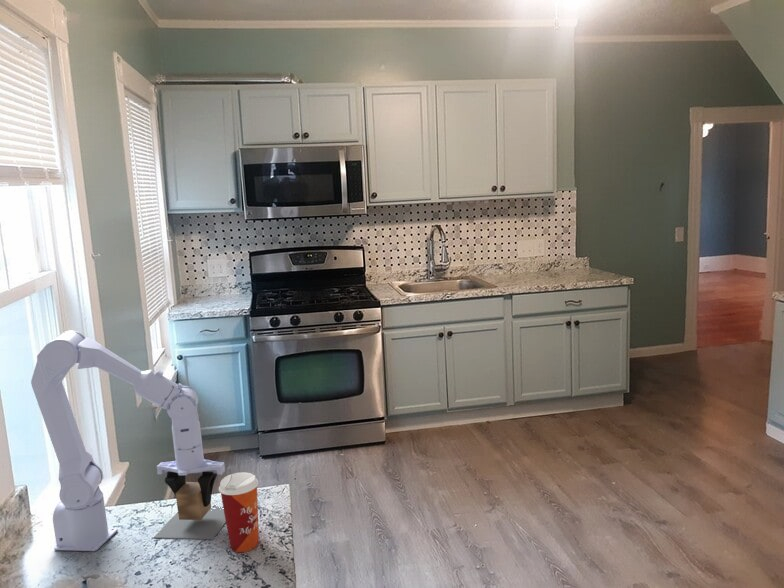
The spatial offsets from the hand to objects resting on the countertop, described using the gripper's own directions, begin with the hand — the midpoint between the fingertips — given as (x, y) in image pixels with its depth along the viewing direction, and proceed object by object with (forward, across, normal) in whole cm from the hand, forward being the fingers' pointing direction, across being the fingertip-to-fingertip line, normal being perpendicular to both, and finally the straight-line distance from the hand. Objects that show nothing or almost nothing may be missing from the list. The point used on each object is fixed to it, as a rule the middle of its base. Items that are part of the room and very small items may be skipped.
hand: (195, 504), depth 133 cm
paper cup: (+4, +14, -8) cm, 17 cm away
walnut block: (+2, 0, 0) cm, 2 cm away
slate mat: (+4, 0, 0) cm, 4 cm away
